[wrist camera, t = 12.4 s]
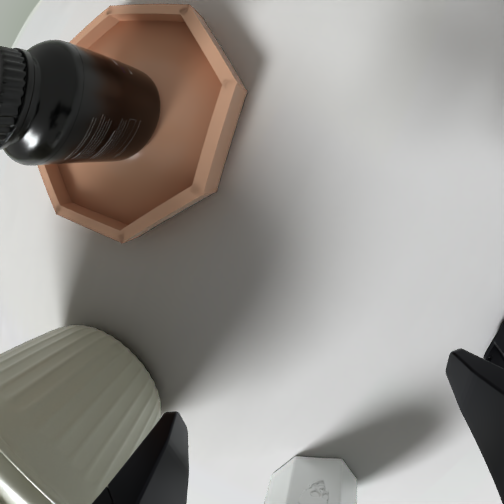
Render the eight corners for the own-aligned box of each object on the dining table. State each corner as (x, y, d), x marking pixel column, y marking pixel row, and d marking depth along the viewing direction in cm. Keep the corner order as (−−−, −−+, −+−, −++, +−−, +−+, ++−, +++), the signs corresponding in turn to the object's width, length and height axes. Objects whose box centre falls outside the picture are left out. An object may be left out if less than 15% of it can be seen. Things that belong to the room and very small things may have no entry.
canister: (132, 452, 32) (46, 571, 12) (31, 343, 31) (-89, 432, 11) (232, 410, 25) (130, 623, 6) (90, 253, 25) (-130, 369, 5)
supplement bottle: (159, 56, 18) (27, -6, 7) (170, 148, 20) (19, 143, 8) (84, 88, 20) (-45, 69, 8) (92, 171, 21) (-46, 189, 10)
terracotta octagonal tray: (269, 27, 17) (262, 12, 15) (199, 259, 22) (184, 270, 20) (86, 18, 19) (68, 10, 17) (42, 194, 24) (22, 198, 22)
